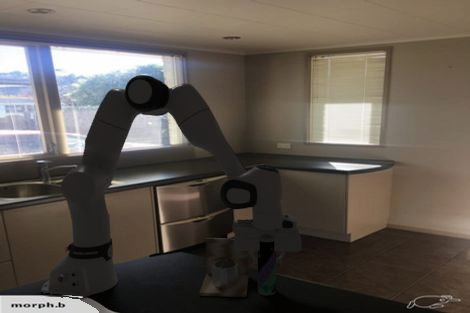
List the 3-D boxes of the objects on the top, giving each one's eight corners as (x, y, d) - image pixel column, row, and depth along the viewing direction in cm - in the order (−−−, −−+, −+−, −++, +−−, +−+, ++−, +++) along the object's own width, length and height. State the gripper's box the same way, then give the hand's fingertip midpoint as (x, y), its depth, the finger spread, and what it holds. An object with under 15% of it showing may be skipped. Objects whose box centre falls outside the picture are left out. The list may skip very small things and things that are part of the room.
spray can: (255, 293, 106) (255, 229, 104) (260, 285, 111) (261, 224, 109) (272, 297, 104) (273, 231, 102) (277, 288, 109) (278, 225, 107)
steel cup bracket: (210, 288, 108) (210, 269, 107) (215, 273, 118) (215, 256, 117) (237, 288, 107) (236, 269, 107) (239, 274, 117) (239, 257, 117)
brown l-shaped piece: (199, 295, 105) (198, 253, 104) (207, 275, 119) (206, 237, 118) (246, 297, 104) (246, 254, 103) (248, 276, 118) (248, 238, 117)
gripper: (231, 222, 103) (232, 268, 104) (302, 223, 101) (302, 269, 103) (233, 216, 109) (233, 259, 111) (300, 217, 108) (299, 260, 109)
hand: (267, 264), depth 107 cm, fingers open, 6 cm apart
